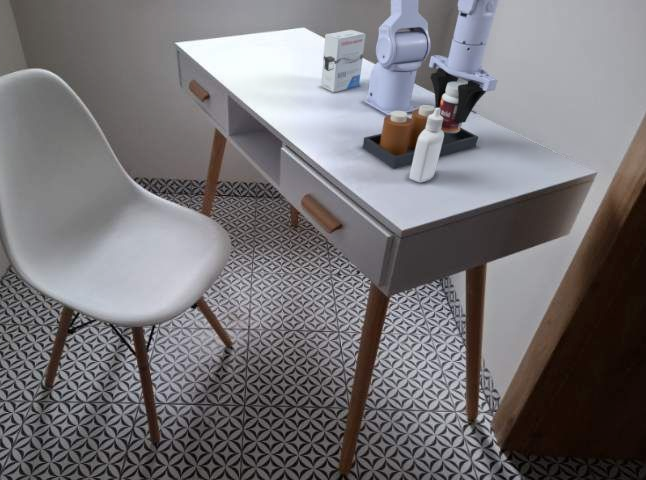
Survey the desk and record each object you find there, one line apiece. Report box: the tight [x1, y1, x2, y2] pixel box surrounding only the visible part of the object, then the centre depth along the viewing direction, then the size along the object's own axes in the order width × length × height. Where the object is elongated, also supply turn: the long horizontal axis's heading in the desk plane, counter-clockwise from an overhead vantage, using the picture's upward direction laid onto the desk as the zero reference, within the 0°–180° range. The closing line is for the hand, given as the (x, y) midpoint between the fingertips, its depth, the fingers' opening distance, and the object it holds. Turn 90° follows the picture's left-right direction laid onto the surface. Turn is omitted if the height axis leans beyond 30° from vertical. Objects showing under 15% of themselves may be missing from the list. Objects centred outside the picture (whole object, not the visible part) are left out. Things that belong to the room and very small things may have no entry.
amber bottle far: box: [380, 111, 413, 156], centre depth 93 cm, size 5×5×7 cm
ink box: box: [320, 29, 366, 93], centre depth 119 cm, size 8×5×12 cm, turn 128°
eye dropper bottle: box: [408, 108, 444, 184], centre depth 85 cm, size 4×6×12 cm
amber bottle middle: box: [408, 104, 435, 149], centre depth 95 cm, size 5×5×7 cm
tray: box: [362, 127, 479, 169], centre depth 97 cm, size 9×20×2 cm, turn 119°
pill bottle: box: [439, 81, 466, 133], centre depth 96 cm, size 5×5×8 cm
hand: (450, 117), depth 97 cm, fingers closed on pill bottle, 5 cm apart
